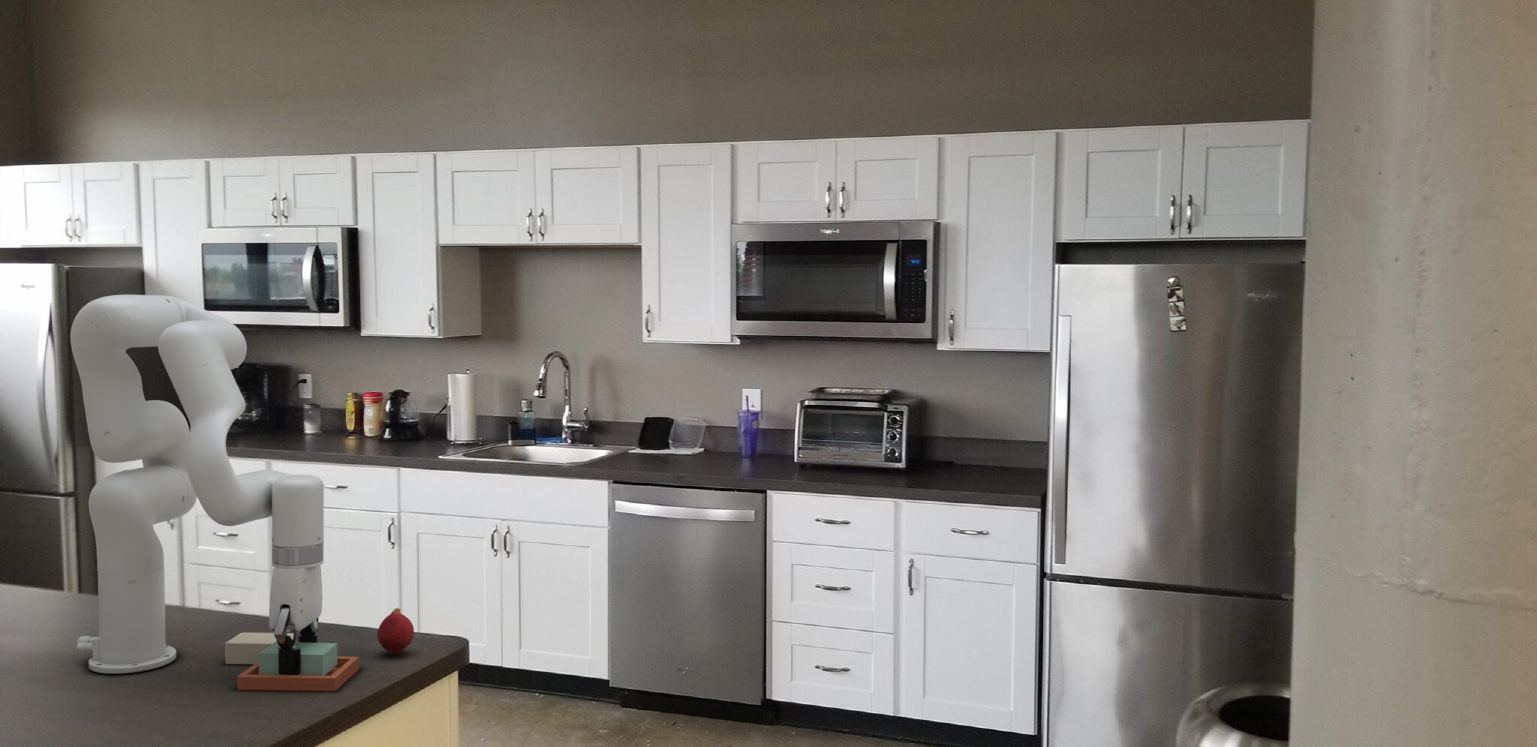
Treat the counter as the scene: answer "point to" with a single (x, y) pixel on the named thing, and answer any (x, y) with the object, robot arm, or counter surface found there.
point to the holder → (299, 678)
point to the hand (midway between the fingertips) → (298, 665)
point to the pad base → (313, 659)
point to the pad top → (248, 647)
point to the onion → (395, 632)
